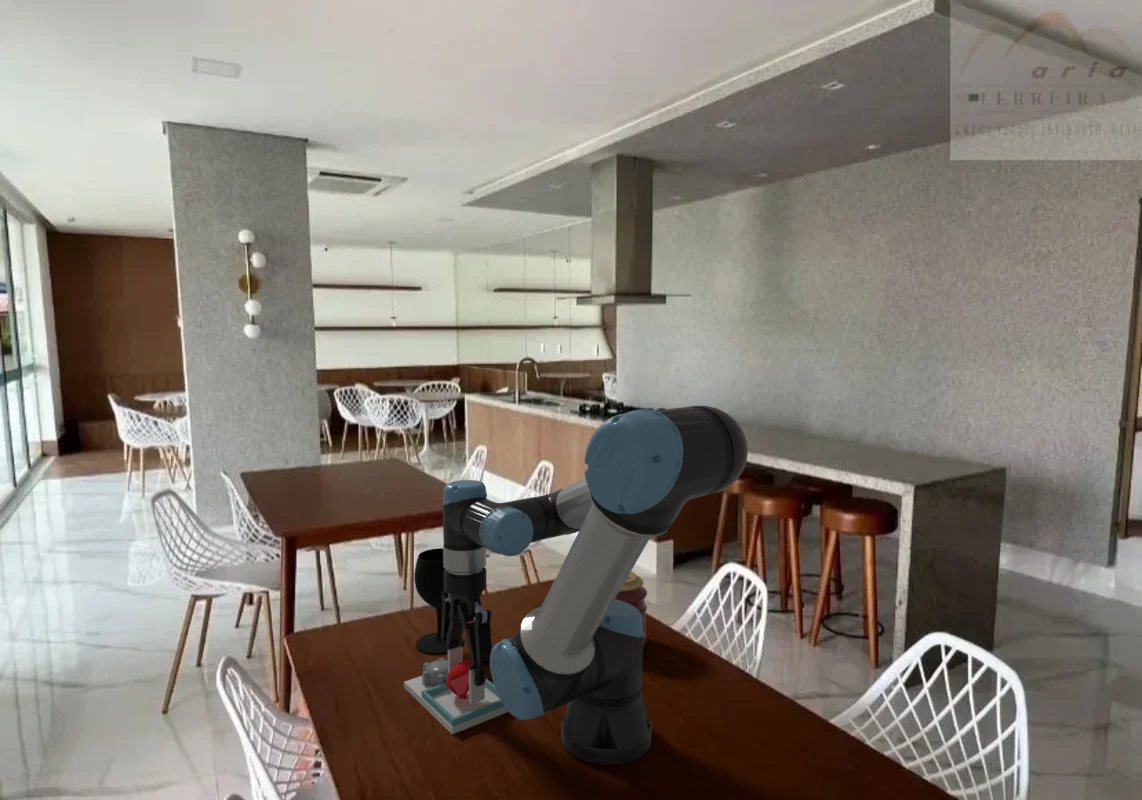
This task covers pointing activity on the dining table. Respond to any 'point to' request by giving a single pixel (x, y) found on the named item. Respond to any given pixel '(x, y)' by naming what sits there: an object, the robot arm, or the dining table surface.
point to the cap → (459, 679)
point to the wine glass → (431, 596)
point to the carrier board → (452, 699)
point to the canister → (634, 596)
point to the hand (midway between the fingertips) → (465, 691)
